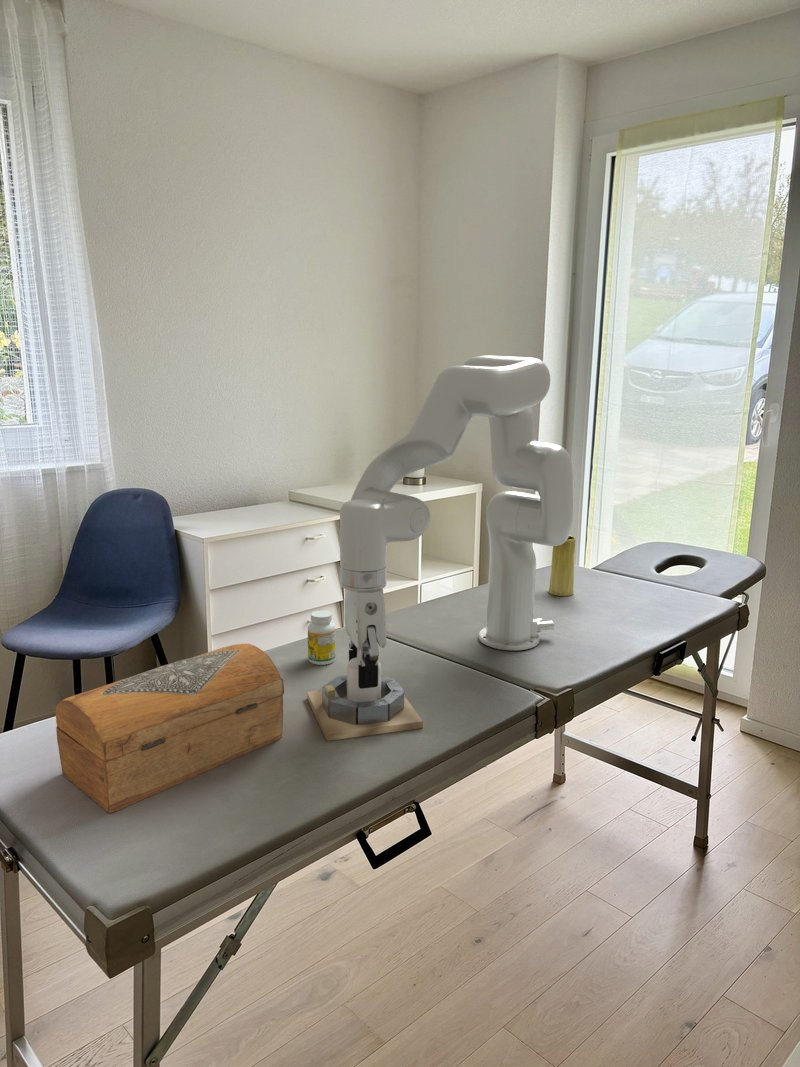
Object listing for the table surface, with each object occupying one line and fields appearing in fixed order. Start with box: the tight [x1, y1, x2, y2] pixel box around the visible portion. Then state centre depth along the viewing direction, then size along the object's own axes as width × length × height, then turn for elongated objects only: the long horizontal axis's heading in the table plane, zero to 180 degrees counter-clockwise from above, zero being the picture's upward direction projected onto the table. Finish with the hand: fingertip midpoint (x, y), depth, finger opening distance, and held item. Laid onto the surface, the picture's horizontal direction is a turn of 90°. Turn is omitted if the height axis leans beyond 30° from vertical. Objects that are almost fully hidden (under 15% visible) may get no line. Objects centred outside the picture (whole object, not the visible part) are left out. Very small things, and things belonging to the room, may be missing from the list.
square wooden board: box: [306, 689, 424, 742], centre depth 139 cm, size 16×16×1 cm
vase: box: [548, 534, 576, 597], centre depth 202 cm, size 6×6×14 cm
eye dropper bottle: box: [346, 643, 382, 702], centre depth 138 cm, size 4×6×12 cm
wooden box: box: [55, 643, 285, 814], centre depth 123 cm, size 30×16×14 cm, turn 136°
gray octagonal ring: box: [321, 674, 405, 725], centre depth 138 cm, size 13×13×4 cm
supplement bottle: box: [307, 610, 337, 666], centre depth 159 cm, size 5×5×10 cm
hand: (363, 678), depth 138 cm, fingers open, 5 cm apart
